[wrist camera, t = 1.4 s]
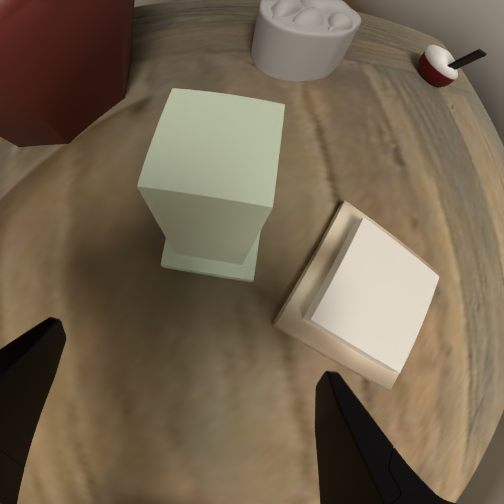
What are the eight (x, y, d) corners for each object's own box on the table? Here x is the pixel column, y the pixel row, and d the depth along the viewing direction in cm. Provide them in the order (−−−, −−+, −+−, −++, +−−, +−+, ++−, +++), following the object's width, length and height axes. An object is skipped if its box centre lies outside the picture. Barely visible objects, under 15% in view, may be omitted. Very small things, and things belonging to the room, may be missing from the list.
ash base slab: (378, 386, 23) (390, 390, 21) (269, 324, 23) (274, 325, 21) (427, 276, 26) (439, 273, 24) (336, 208, 26) (345, 200, 24)
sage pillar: (251, 282, 23) (297, 239, 10) (163, 267, 22) (105, 208, 10) (263, 199, 24) (307, 94, 12) (181, 186, 24) (158, 73, 11)
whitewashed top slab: (386, 369, 21) (399, 372, 19) (302, 319, 21) (310, 319, 19) (425, 279, 24) (439, 276, 22) (352, 224, 24) (363, 217, 22)
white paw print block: (350, 55, 31) (374, 10, 23) (304, 97, 28) (329, 38, 19) (287, 21, 31) (300, -26, 23) (228, 55, 28) (235, -4, 20)
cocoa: (412, 57, 34) (443, 9, 23) (442, 76, 34) (476, 32, 23) (413, 84, 32) (452, 28, 20) (447, 106, 32) (490, 57, 20)
